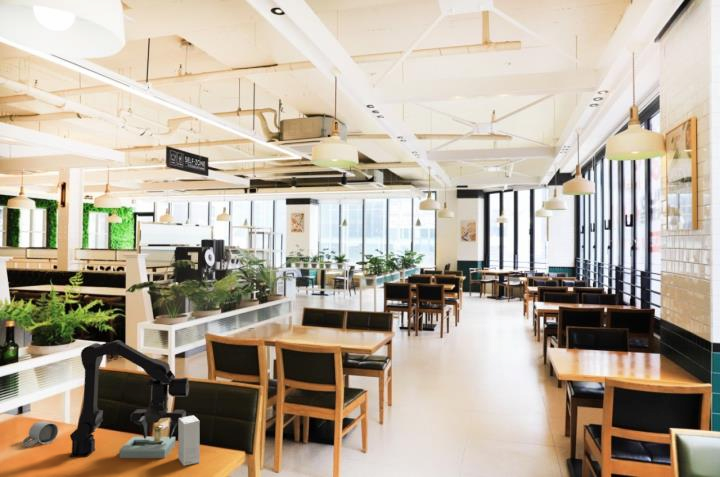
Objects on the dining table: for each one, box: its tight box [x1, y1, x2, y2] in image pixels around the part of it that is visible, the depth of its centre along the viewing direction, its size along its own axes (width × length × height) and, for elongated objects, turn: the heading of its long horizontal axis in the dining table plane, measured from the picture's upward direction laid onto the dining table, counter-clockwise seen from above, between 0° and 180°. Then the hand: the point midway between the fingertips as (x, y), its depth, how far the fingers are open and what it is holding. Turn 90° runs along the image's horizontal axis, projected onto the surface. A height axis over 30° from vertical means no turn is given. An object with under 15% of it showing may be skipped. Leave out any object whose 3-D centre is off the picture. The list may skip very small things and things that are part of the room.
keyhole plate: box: [119, 436, 176, 459], centre depth 184 cm, size 16×12×3 cm
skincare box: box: [177, 415, 201, 467], centre depth 177 cm, size 8×6×15 cm
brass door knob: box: [152, 424, 164, 445], centre depth 184 cm, size 5×5×9 cm
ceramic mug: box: [21, 420, 59, 448], centre depth 190 cm, size 11×8×8 cm
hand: (157, 438), depth 184 cm, fingers open, 9 cm apart
